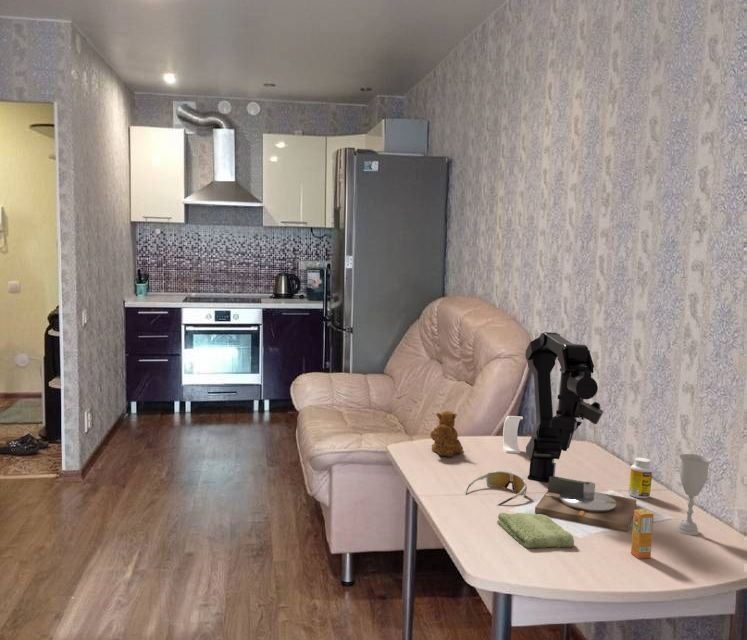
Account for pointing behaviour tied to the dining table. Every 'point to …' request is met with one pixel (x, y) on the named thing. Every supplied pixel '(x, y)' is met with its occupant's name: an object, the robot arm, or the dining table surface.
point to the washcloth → (535, 530)
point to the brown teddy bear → (446, 435)
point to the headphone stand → (511, 434)
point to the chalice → (692, 486)
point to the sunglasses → (504, 482)
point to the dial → (580, 495)
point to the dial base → (610, 519)
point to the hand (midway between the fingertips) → (565, 449)
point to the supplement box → (642, 534)
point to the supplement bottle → (640, 478)
